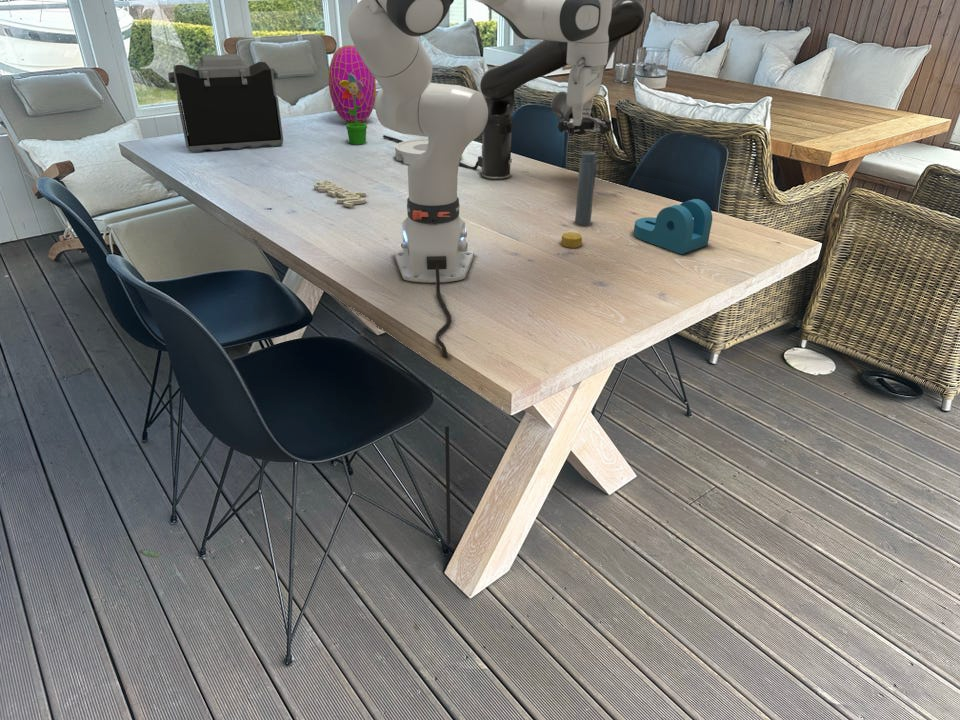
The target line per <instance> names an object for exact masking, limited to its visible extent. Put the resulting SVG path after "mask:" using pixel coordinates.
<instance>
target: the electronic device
mask: <svg viewBox="0 0 960 720" xmlns="http://www.w3.org/2000/svg"><path fill="white" fill-rule="evenodd" d="M172 68H173V69H172V71H171V72H170V71H169V72H168V75H167V79H168V83H169V84H174V85H175V90H176V95H177V96H176V97H177V107H178V112H179V116H180V121H181V127H182V131H183V136H184V142H185V146H186V149H187V151H188V152H192V153H201V152H203V151H205V150H210V151H213V152H217V151H222V150H223V149H231V150H241V149H243V148H246V147H250V148H253V149H257V148H258V149H259V148H261V147H263V146H270V147H280V146H281V145H283V144H284V135H283V128H282V119H281V118H282V117H281V111H280V104H279V98H278V95H277V93H276V92H277V91H276V84H275V80H276V79H278V78H279V77H278V76H279V73H278V72H277V70H275V68H271V67H270V66H269V64H268V63H267V62H266V61H258V62H255V63H254V64H252V65H250V66H248V63H246V61H245V60H243V59H242V58H241V57H240V55H239V54H238V53H225V54H221V55H220V54H218V55H215V54H214V53H213V54H201V56H200V60H198V61H196V68H197V69H196V68H192V67H190V66H187V65H183V64H174V65H173V67H172Z"/></svg>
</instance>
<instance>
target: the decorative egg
mask: <svg viewBox="0 0 960 720" xmlns="http://www.w3.org/2000/svg"><path fill="white" fill-rule="evenodd" d="M348 73H350V74H352V75H354V76H355V78H356V83H357V82H358V81H361V82H362V84H363V89H361V90H360V91H361V92H362V93H363V98H362V100H359V99H358V98H357V97H356V95H355V103H356V106H359V109H358V110H356V116H357V123H364V122H365V121H366V120H368V118H369V117H370V116H371V114H372V112H373V111H374V108H375V101H376V96H377V83H376V82H377V80H376V79H375V77H374V76H373V74H372V73H371V72H370V70H369V69H368V67H367V66H366V65H365V63H364V62H363V60H362V58H361V57H360V55H359V53H358V51H357V49H356V47H355V45H353V44H352V45H351V44H348V45H343V46H340V47H338V48H337V49H336V51H334V53H333V56H332V57H331V61H330V63H329V69H328V90H329V96H330V99H331V103H332V105H333V108H334V110H335V111H336V113H337V114H338V116H339V118H341V119H342V120H343V121H344V122H346V123H348V124H349V123H355V115H351V114H349V112H348V111H349V110H354V100H353V95H352V96H351V97H350V98H348V99H341V97H342V94H343V93H344V91H345V90H347V89H346V88H343V87H342V86H341V85H340V84H339V83H340V82H341V81H342V80H346V81H349V78H348Z"/></svg>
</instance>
